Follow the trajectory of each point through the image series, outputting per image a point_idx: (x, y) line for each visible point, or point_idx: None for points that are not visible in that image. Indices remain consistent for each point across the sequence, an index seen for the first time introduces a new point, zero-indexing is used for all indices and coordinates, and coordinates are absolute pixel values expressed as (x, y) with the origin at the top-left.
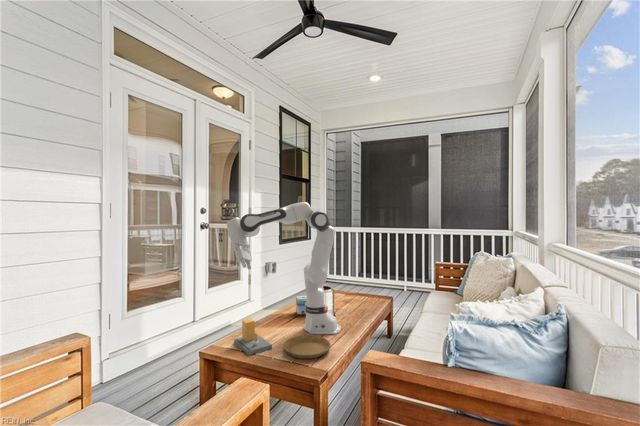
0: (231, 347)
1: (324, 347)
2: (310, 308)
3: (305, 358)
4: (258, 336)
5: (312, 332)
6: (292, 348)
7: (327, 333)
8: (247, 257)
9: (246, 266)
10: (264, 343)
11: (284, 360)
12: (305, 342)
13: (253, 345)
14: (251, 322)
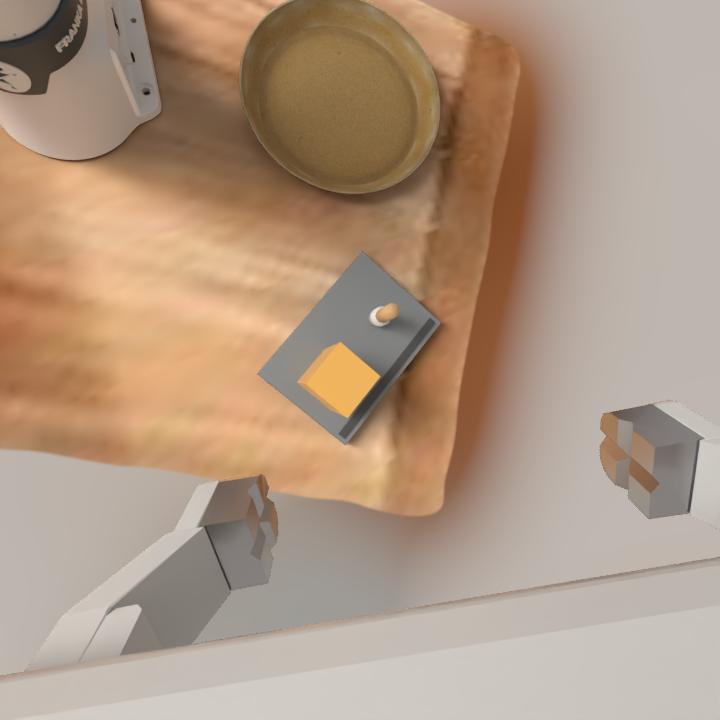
0: (385, 428)
1: (309, 35)
2: (68, 8)
3: (414, 104)
4: (290, 345)
5: (158, 97)
6: (348, 167)
7: (144, 24)
8: (541, 674)
9: (641, 406)
10: (358, 287)
11: (441, 179)
12: (274, 123)
13: (387, 326)
14: (354, 355)
